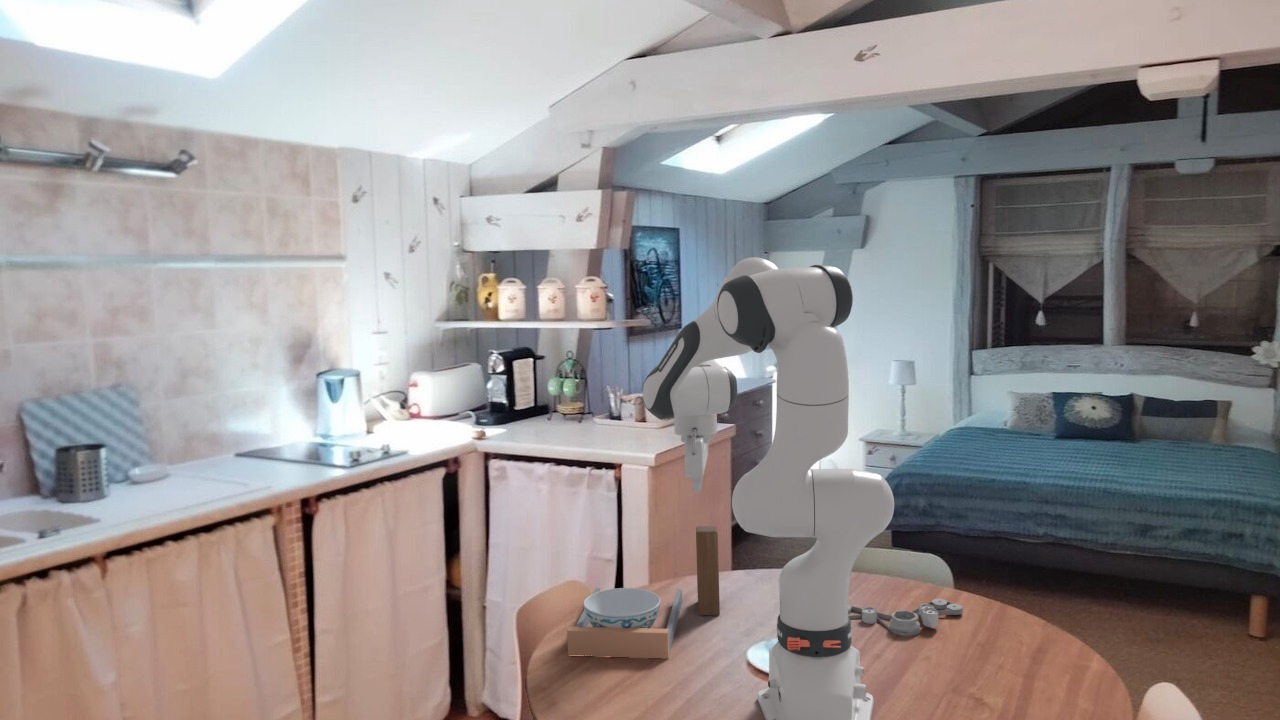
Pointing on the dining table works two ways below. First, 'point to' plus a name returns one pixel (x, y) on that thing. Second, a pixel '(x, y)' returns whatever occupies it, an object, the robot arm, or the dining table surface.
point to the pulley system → (909, 616)
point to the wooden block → (707, 570)
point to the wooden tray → (623, 638)
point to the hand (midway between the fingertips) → (697, 490)
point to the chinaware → (622, 608)
